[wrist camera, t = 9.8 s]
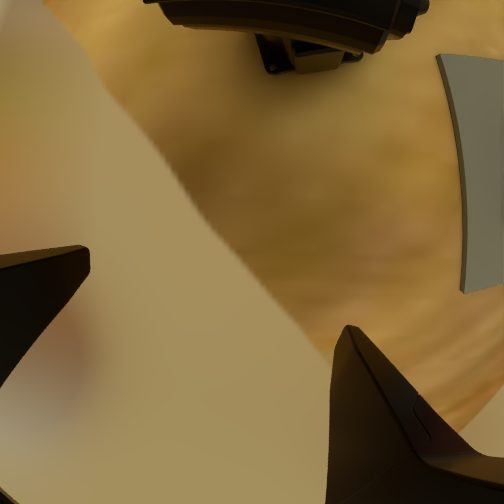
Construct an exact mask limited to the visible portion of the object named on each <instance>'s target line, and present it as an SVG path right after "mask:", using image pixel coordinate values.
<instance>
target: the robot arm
mask: <svg viewBox="0 0 504 504" xmlns="http://www.w3.org/2000/svg"><path fill="white" fill-rule="evenodd" d="M143 2H144V3H145V4H151V3H158V5H159V7H160V9H161V10H162V12H163V14H164V15H165V16H166V18H167V19H168V20H169V21H170V22H171V23H172V24H173V25H183V26H184V27H188V28H192V29H205V30H225V31H238V32H248V33H255V36H256V39H257V43H258V46H259V49H260V53H261V56H262V60H263V63H264V67H265V69H266V71H267V73H269V74H271V75H277V74H282V73H286V72H291V71H296V72H297V73H299V74H305V73H311V72H317V71H323V70H330V69H337V68H338V66H339V65H340V64H341V63H349V62H357V61H360V60H361V59H362V57H363V52H366V53H369V54H374V53H376V52H378V51H380V50H381V48H382V47H383V45H384V43H385V41H386V40H399V39H401V38H403V37H404V35H405V34H409V33H410V32H411V31H412V28H413V26H414V23H415V20H416V17H417V16H419V15H422V14H425V13H426V12H427V11H428V8H429V0H143ZM352 53H353V54H357V55H359V56H358V57H355V56H353V55H352ZM271 65H276V66H277V68H276V69H275V70H270V69H269V67H270V66H271ZM89 273H90V251H89V249H88V248H87V247H85V246H82V245H73V246H65V247H57V248H49V249H42V250H33V251H26V252H18V253H12V254H4V255H0V388H1V386H2V385H3V382H5V380H6V379H7V378H8V376H9V375H10V373H11V372H12V371H13V369H14V368H15V367H16V365H17V364H18V363H19V361H20V360H21V359H22V357H23V356H24V355H25V354H26V352H27V351H28V350H29V348H30V347H31V346H32V344H33V343H34V342H35V341H36V340H37V338H38V337H39V336H40V335H41V333H42V332H43V331H44V330H45V329H46V327H47V326H48V325H49V324H50V323H51V322H52V320H53V319H54V318H55V317H56V316H57V314H58V313H59V312H60V311H61V310H62V309H63V308H64V306H65V305H66V304H67V303H68V302H69V300H70V299H71V298H72V296H73V295H74V293H75V292H76V291H77V289H78V288H79V287H80V285H81V284H82V283H83V281H84V280H85V279H86V277H87V276H88V275H89ZM418 394H419V393H418V392H417V391H416V390H415V388H414V387H413V386H412V385H411V384H410V383H409V382H408V381H407V380H406V378H405V377H404V376H403V375H402V374H401V373H400V372H399V371H398V370H397V368H396V367H395V366H394V365H393V364H392V363H391V362H390V361H389V360H388V359H387V357H386V356H385V355H384V354H383V353H382V352H381V351H380V350H379V349H378V348H377V347H376V346H375V344H374V343H373V342H372V341H371V340H370V339H369V338H368V337H367V336H366V335H365V334H364V333H363V331H362V330H361V329H360V328H359V327H356V326H352V325H346V326H345V327H344V329H343V331H342V333H341V335H340V337H339V339H338V341H337V344H336V346H335V350H334V358H333V367H332V377H331V384H330V417H329V418H330V419H329V453H328V473H327V489H326V500H325V501H326V502H325V504H504V458H500V457H491V456H486V455H483V454H481V453H479V452H477V451H476V450H474V449H473V448H472V447H471V446H470V445H469V444H468V443H466V441H465V440H464V439H463V438H462V437H461V436H459V435H458V434H457V433H456V432H455V431H454V430H453V429H452V428H451V427H450V426H449V425H448V424H447V423H446V422H445V421H444V420H443V419H442V418H441V417H440V416H439V415H438V414H437V413H436V412H435V411H434V410H433V409H432V407H431V406H430V405H429V404H428V403H427V402H426V401H425V400H424V399H423V397H422V396H421V395H418ZM0 504H19V503H18V502H16V501H15V500H14V499H13V498H12V497H11V496H10V495H8V494H7V493H6V492H5V491H4V490H3V489H2V488H1V487H0Z"/></svg>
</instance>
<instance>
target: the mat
mask: <svg viewBox="0 0 504 504" xmlns="http://www.w3.org/2000/svg"><path fill="white" fill-rule="evenodd" d="M436 59H437V62H438V65H439V68H440V72H441V75H442V79H443V82H444V86H445V90H446V94H447V98H448V102H449V107H450V111H451V116H452V121H453V127H454V132H455V138H456V145H457V152H458V159H459V168H460V178H461V190H462V209H463V255H462V273H461V286H460V290H461V291H462V292H463V294H467V293H471V292H475V291H479V290H483V289H486V288H490V287H494V286H497V285H501V284H504V61H503V60H497V59H490V58H483V57H475V56H466V55H453V54H439V55H437V56H436Z"/></svg>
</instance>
